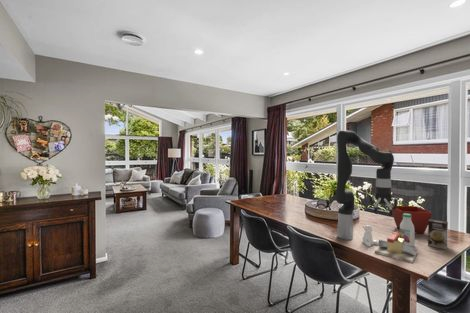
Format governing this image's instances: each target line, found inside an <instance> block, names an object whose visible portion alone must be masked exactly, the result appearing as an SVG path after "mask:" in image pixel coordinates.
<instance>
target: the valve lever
mask: <svg viewBox="0 0 470 313" xmlns="http://www.w3.org/2000/svg"><path fill="white" fill-rule="evenodd" d="M398 238H400V232H395V231H394V232H392V233H391V235H390V236H387V238H386V239H387V240H386V241H387V242H390V243H394V242H395V240H396V239H398Z"/></svg>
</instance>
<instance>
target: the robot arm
mask: <svg viewBox="0 0 470 313" xmlns="http://www.w3.org/2000/svg"><path fill="white" fill-rule="evenodd" d="M336 137H337V138H336V144H337V176H336V178H337V180H336V188H335V200H336V202H337V203H338V204H340V205H341V206H339V207H338V209H337V210H338V211H337V213H338V215H337V216H338V217H337V218H338V219H337V220H338V222H337V223H336V224H337V225H336V233H337V234H336V235H337V236H336V237H338V238H339V239H342V240H346V241H348V240H353V238H354V237H353V236H354V229H353V228H354V219H353V218H354V217H353V216H354V215H353V213H354V211H355V210H354V209H355V194H354V193H353V191H352V190H349V189H348V190H347V189H346V185H347V183H348V181H349V179H350V177H351V175H352V173H353V161H352V159H351V158H350V155H349V154H348V150H347V148H348V147H347V145H350V144H352V145H354V146H356V147H357V148H358V150H359V151H360V152H361V153H362V154H364V155H366V156H367V157H369V158H370V160H371V161H372V162H374V163H376V164H379V165H380V167H378V168H377V169H376V174H375V176H376V177H375V178H376V179H375V195H369V204H370V206H371V207H373V210H374V211H373V212H374V213H375V215H378V213H379V209H378V208H379V207H378V206H379V204H383V205H386V206H387V207H388V209H389V211H388V212H389V215H388V216H389V217H393V209H396V208H397V206H398V202H399V198H397V197H393V196H392V180H391V178H392V177H391V175H392V174H391V173H392V172H391V171H392V168H393V165H394V162H395V156H394V154H393V153H392V152H391V151H381V150H380V149H379V148H378V147H377V146H375V145H373V144H372V143H370V142H368V141H366V140H365V139H363V138H362V137H361V136H360V135H358V134H357V133H356V132H355V131H353V130H340V131H338V133H337V136H336ZM375 200H376V202H375ZM391 201H392V202H393V204H392V203H391ZM392 206H394V207H392Z"/></svg>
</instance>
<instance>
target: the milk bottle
mask: <svg viewBox="0 0 470 313" xmlns="http://www.w3.org/2000/svg"><path fill="white" fill-rule="evenodd" d="M399 234H400V237H399V238H401V239H404V245H405V246H410V247H414V248H415V241H416V240H415V239H416V238H415V236H416V235H415V234H416V233H415V231H414V225H413V223H412V221H411V214H406V213H404V214H403V220H402V222H401V224H400V229H399Z"/></svg>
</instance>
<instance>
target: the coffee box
mask: <svg viewBox="0 0 470 313" xmlns="http://www.w3.org/2000/svg"><path fill="white" fill-rule="evenodd" d="M448 225H449V222H448V221H443V220H438V219H431V218H430V219H429V221H428V226H427V228H428V229H427V230H428V231H427V246H428V247H433V248H437V249H442V250H447V249H448V229H449V228H448Z"/></svg>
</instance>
